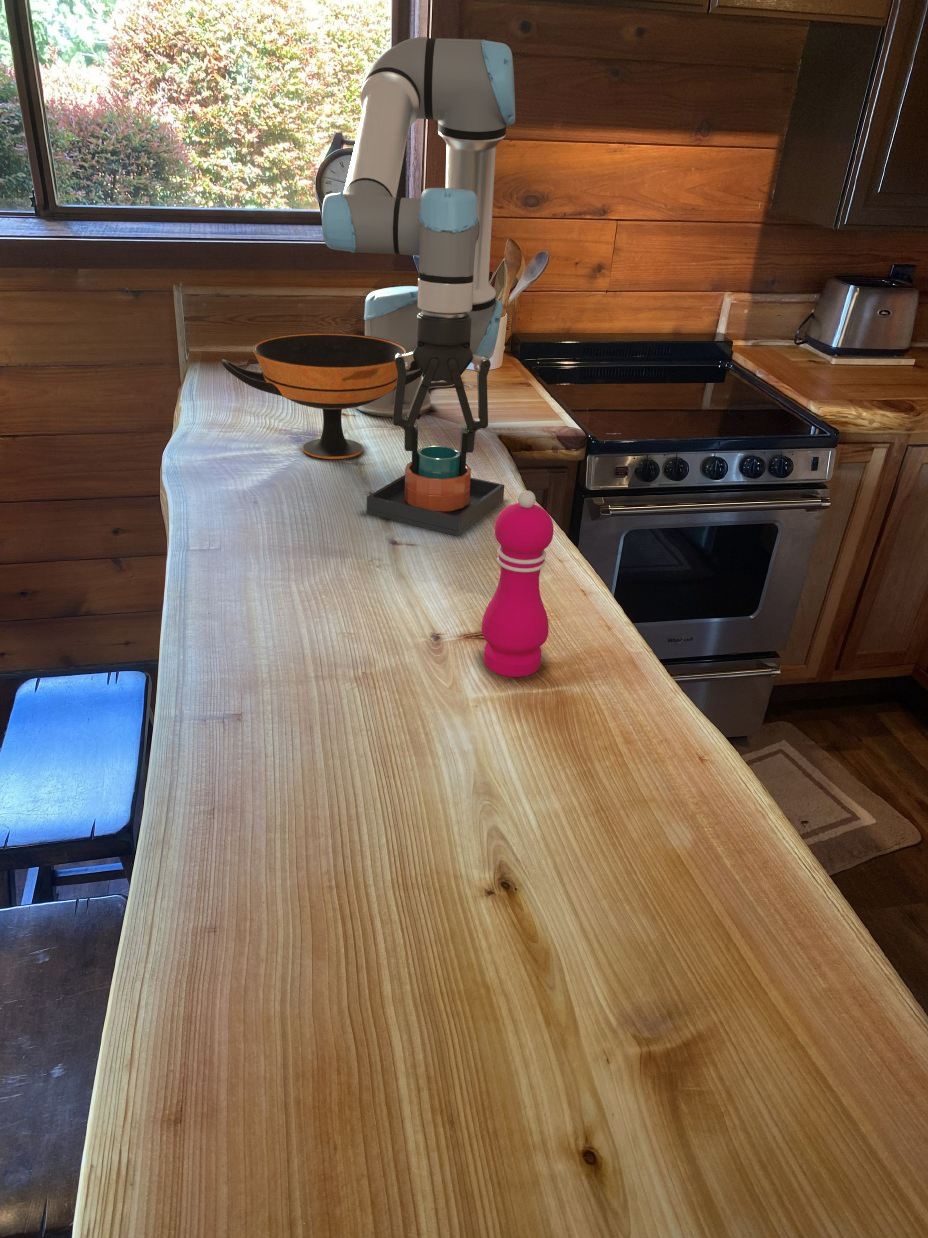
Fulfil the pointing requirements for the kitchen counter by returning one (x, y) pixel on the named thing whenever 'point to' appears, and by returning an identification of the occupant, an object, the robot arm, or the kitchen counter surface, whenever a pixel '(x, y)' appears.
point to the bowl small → (438, 462)
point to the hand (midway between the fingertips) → (438, 471)
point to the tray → (396, 508)
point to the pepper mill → (518, 590)
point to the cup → (326, 378)
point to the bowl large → (437, 491)
